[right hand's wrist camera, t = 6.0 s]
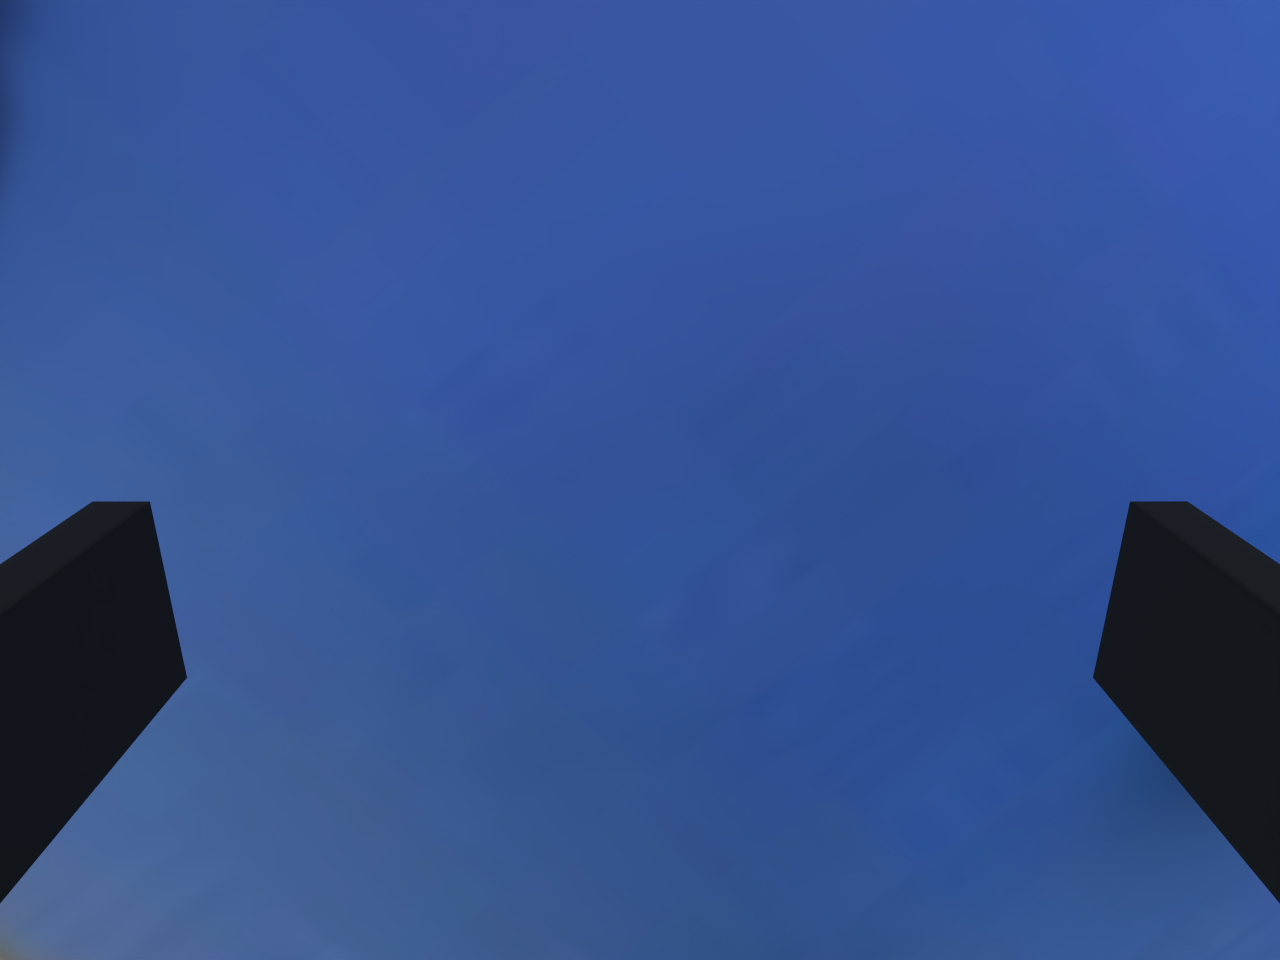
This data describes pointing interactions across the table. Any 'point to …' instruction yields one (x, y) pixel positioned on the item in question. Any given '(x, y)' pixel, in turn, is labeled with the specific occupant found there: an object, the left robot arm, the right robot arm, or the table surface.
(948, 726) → the table surface
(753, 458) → the table surface
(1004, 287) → the table surface
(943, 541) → the table surface
